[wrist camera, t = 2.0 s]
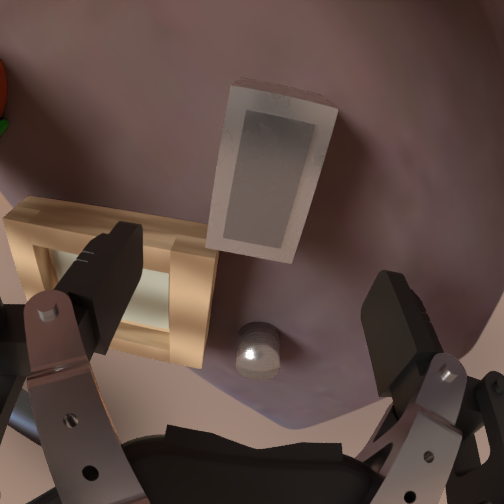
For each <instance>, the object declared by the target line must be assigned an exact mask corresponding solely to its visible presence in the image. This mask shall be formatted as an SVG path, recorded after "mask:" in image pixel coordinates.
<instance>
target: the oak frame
mask: <svg viewBox="0 0 504 504" xmlns="http://www.w3.org/2000/svg"><path fill="white" fill-rule="evenodd" d="M119 221H125V222H131V223H136V224H141V225H142V227H143V271H142V276H141V279H140V281H139V284H138V286H137V288H136V290H135V292H134V294H133V296H132V298H131V300H130V302H129V304H128V306H127V308H126V311H125V313H124V315H123V317H122V319H121V321H120V324H119V326H118V328H117V330H116V332H115V335H114V337H113V339H112V341H111V344H110V346H109V348H111V349H114V350H118V351H122V352H126V353H130V354H134V355H138V356H142V357H146V358H151V359H155V360H160V361H164V362H169V363H174V364H179V365H183V366H189V367H194V368H199V369H202V364H203V359H204V353H205V348H206V343H207V338H208V330H209V322H210V315H211V307H212V300H213V293H214V286H215V278H216V271H217V264H218V258H219V251H220V250H215V249H209V248H205V245H206V237H207V230H208V224H203V223H197V222H191V221H186V220H180V219H174V218H168V217H162V216H156V215H150V214H144V213H138V212H132V211H126V210H120V209H113V208H107V207H101V206H94V205H88V204H82V203H75V202H69V201H62V200H55V199H49V198H42V197H35V196H28V197H26V198H25V199H24V200H23V201H22V202H20V203H19V204H18V205H17V206H16V207H15V208H13V209H12V210H11V211H10V212H9V213H8V214H7V215H6V216H4V217H3V222H4V226H5V230H6V234H7V238H8V242H9V245H10V249H11V253H12V256H13V259H14V262H15V266H16V269H17V272H18V275H19V278H20V281H21V284H22V287H23V290H24V293H25V295H26V298H27V301H28V300H29V299H30V298H31V297H32V296H34V295H35V294H37V293H39V292H41V291H45V290H53V289H54V288H55V287H56V285H57V284H58V282H59V281H60V280H61V278H62V277H63V275H64V274H65V273H66V271H67V270H68V269H69V267H70V266H71V265H72V263H73V262H74V261H75V260H76V258H77V257H78V255H79V254H80V253H81V252H82V251H83V249H84V248H85V246H86V245H87V244H88V243H89V241H90V240H92V239H93V238H95V237H97V236H98V235H100V234H102V233H106V234H109V233H110V232H111V230H112V229H113V228H114V226H115V225H116V224H117V223H118V222H119Z"/></svg>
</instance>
